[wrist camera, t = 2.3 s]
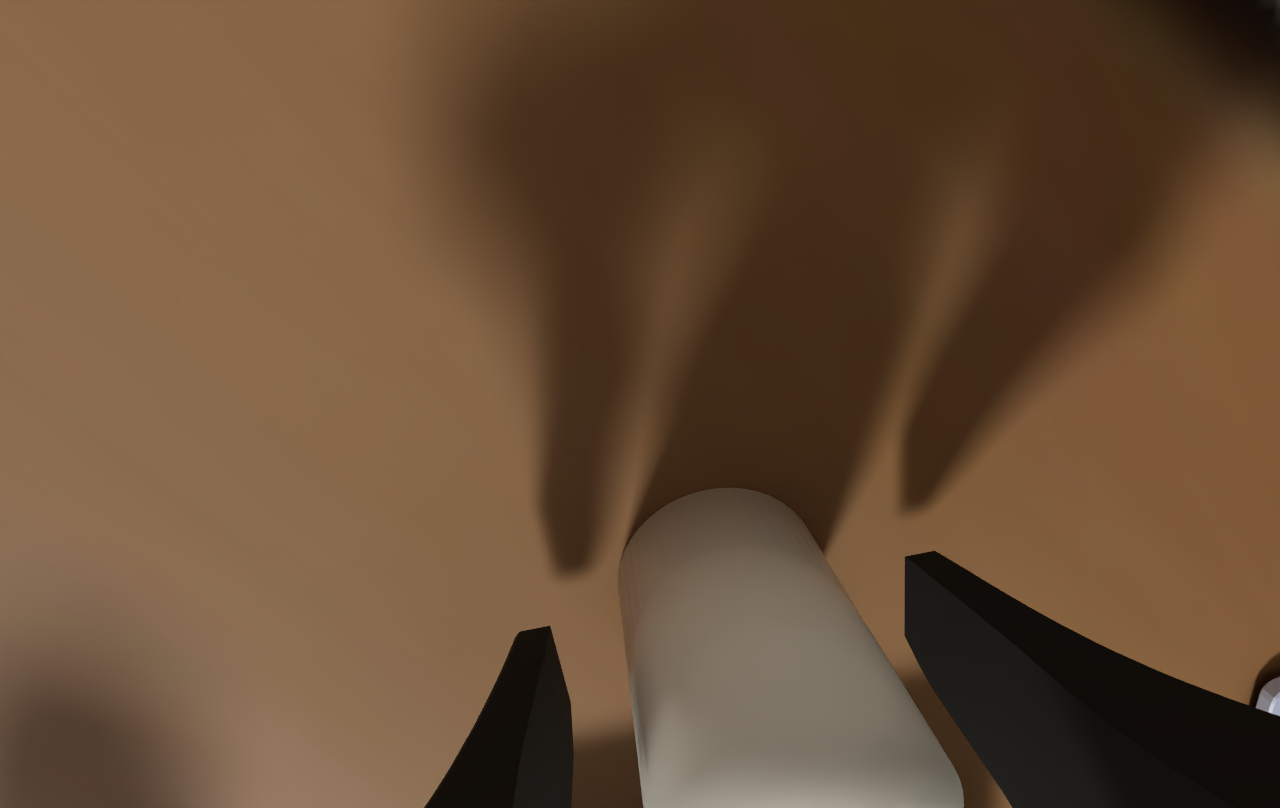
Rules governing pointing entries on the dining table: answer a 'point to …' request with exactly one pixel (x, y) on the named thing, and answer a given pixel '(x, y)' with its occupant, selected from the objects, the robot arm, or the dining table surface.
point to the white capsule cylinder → (762, 670)
